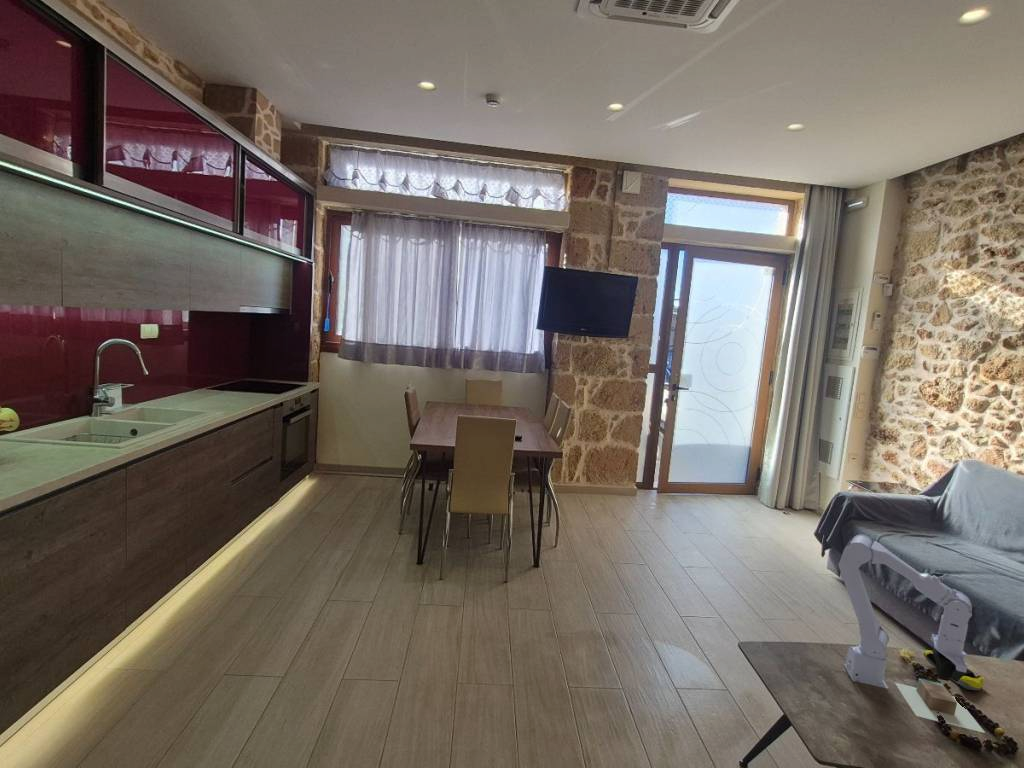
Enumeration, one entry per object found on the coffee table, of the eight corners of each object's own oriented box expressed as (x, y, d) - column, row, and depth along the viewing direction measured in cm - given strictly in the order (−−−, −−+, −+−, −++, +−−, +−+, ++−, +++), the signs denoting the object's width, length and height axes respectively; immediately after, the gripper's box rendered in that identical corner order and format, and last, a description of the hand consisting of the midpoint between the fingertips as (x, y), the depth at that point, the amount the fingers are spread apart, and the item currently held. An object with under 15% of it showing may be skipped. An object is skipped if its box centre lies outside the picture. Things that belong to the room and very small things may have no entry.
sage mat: (915, 717, 141) (916, 715, 141) (894, 684, 155) (894, 682, 154) (985, 735, 137) (985, 733, 137) (956, 699, 150) (957, 697, 150)
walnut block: (931, 696, 144) (918, 678, 151) (929, 709, 144) (916, 690, 152) (957, 702, 142) (942, 683, 149) (954, 715, 142) (939, 696, 150)
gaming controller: (964, 697, 151) (992, 696, 153) (967, 680, 151) (995, 679, 152) (917, 663, 166) (943, 662, 167) (920, 648, 165) (947, 647, 167)
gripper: (984, 654, 135) (974, 700, 136) (954, 624, 148) (946, 666, 150) (952, 647, 137) (943, 693, 138) (926, 618, 150) (918, 660, 152)
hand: (942, 678), depth 144 cm, fingers closed
